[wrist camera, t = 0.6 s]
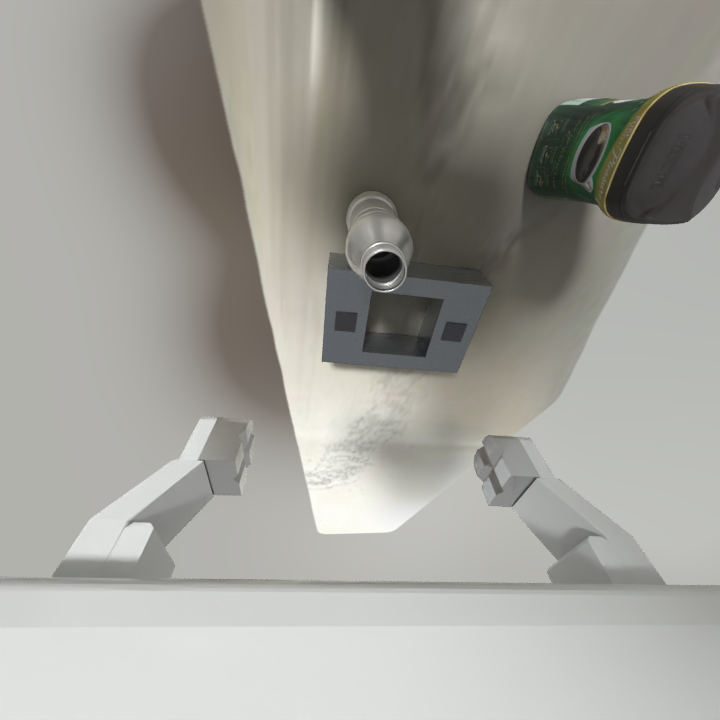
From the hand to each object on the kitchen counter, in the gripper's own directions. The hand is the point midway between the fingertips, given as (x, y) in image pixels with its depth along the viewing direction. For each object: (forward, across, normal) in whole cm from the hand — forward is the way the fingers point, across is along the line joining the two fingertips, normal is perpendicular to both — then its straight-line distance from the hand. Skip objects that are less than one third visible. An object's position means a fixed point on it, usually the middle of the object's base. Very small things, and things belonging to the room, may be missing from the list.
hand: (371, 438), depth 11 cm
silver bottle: (+37, -2, 0) cm, 37 cm away
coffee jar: (+37, -24, -10) cm, 45 cm away
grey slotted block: (+37, -8, +13) cm, 40 cm away
